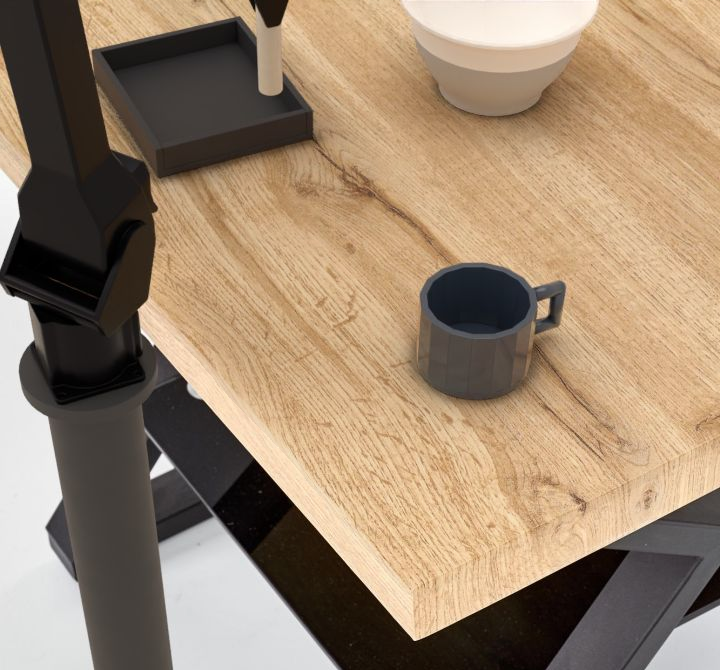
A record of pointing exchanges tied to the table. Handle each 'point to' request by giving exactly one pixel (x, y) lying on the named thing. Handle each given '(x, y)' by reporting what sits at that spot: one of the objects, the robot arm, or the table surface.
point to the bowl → (497, 48)
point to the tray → (198, 96)
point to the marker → (269, 57)
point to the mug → (481, 328)
